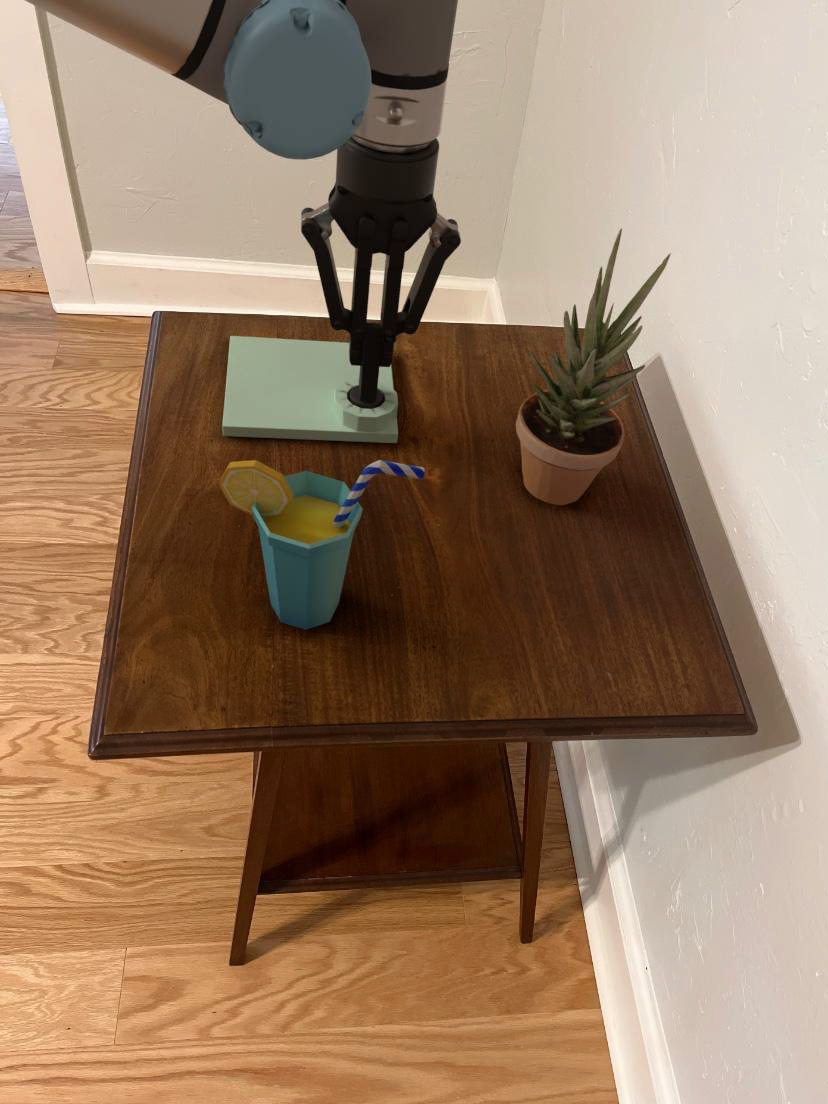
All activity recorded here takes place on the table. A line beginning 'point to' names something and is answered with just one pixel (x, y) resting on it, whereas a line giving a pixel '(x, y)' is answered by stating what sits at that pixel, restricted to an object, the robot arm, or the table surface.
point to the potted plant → (580, 399)
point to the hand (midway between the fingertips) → (367, 391)
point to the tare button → (364, 404)
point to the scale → (302, 393)
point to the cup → (303, 532)
